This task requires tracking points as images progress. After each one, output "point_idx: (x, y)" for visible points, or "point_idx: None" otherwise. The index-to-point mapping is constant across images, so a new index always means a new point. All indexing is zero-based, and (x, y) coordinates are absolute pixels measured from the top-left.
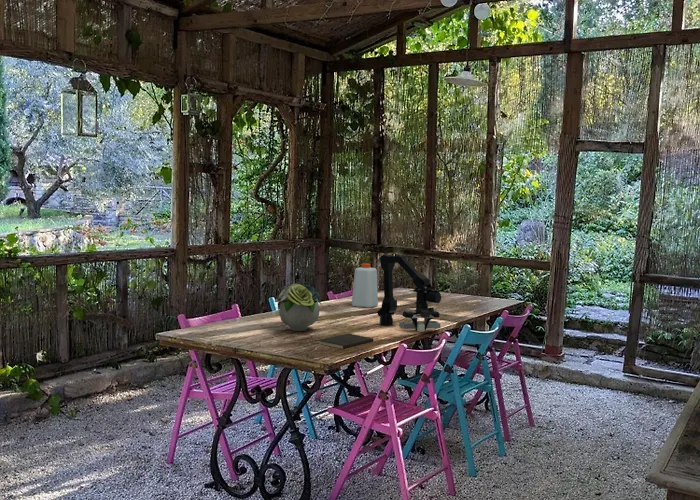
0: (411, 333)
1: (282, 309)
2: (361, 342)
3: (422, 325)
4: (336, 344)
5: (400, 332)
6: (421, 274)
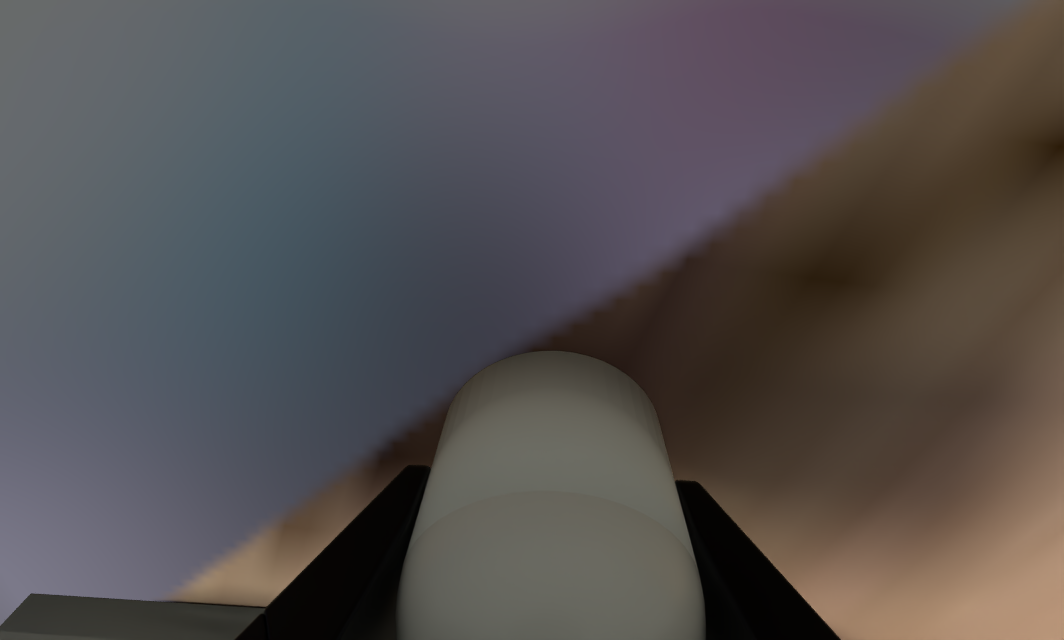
0: (850, 391)
1: None
2: None
3: (535, 555)
4: None
5: (1043, 520)
6: None
